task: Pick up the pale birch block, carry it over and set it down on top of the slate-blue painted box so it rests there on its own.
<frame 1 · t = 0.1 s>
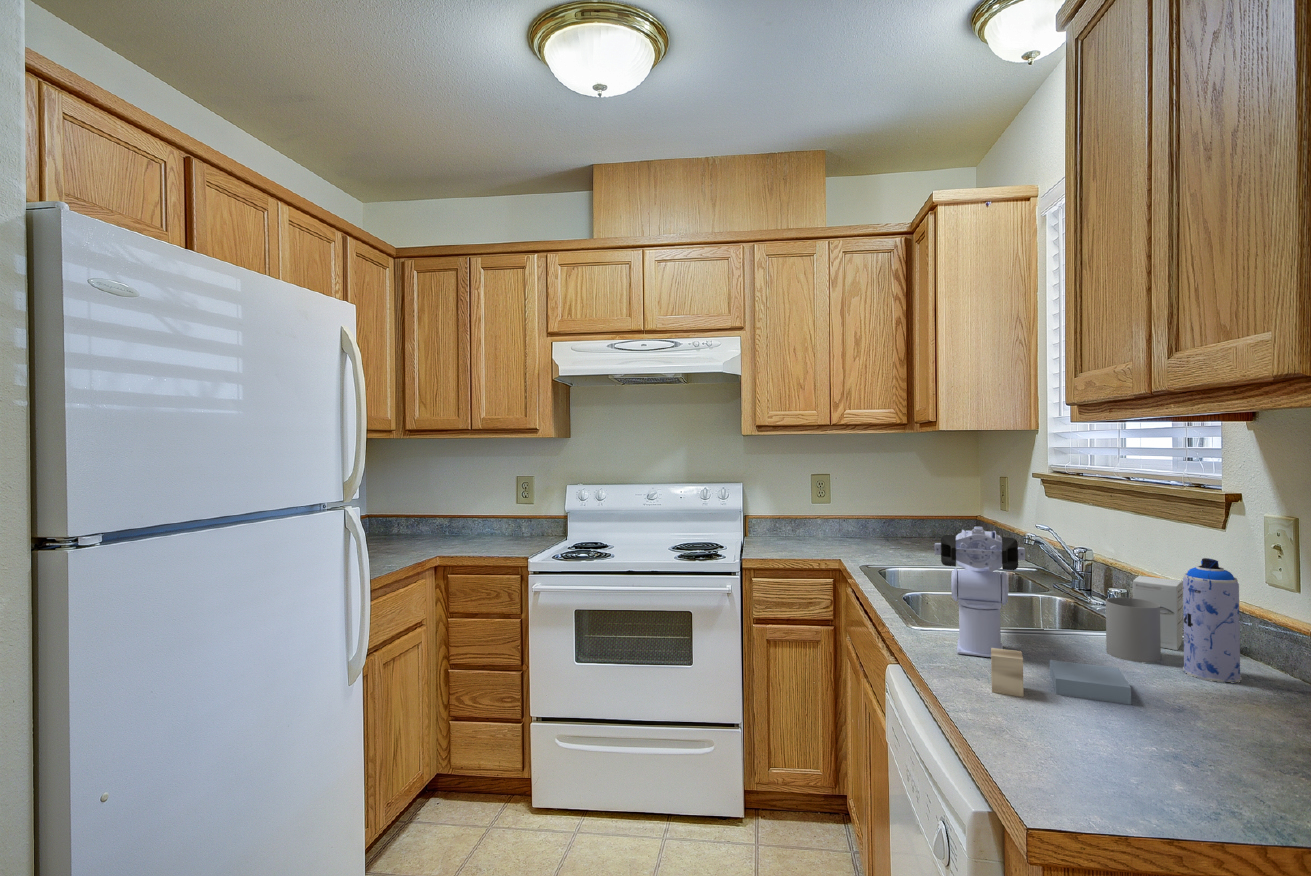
hand: (978, 555, 112), 22 cm above the counter, tool horizontal, fingers open, 7 cm apart
supplement box: (1158, 644, 133), on the counter
cup: (1133, 656, 125), on the counter
birch block: (1007, 689, 109), on the counter
aerosol can: (1211, 676, 115), on the counter
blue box: (1088, 691, 109), on the counter
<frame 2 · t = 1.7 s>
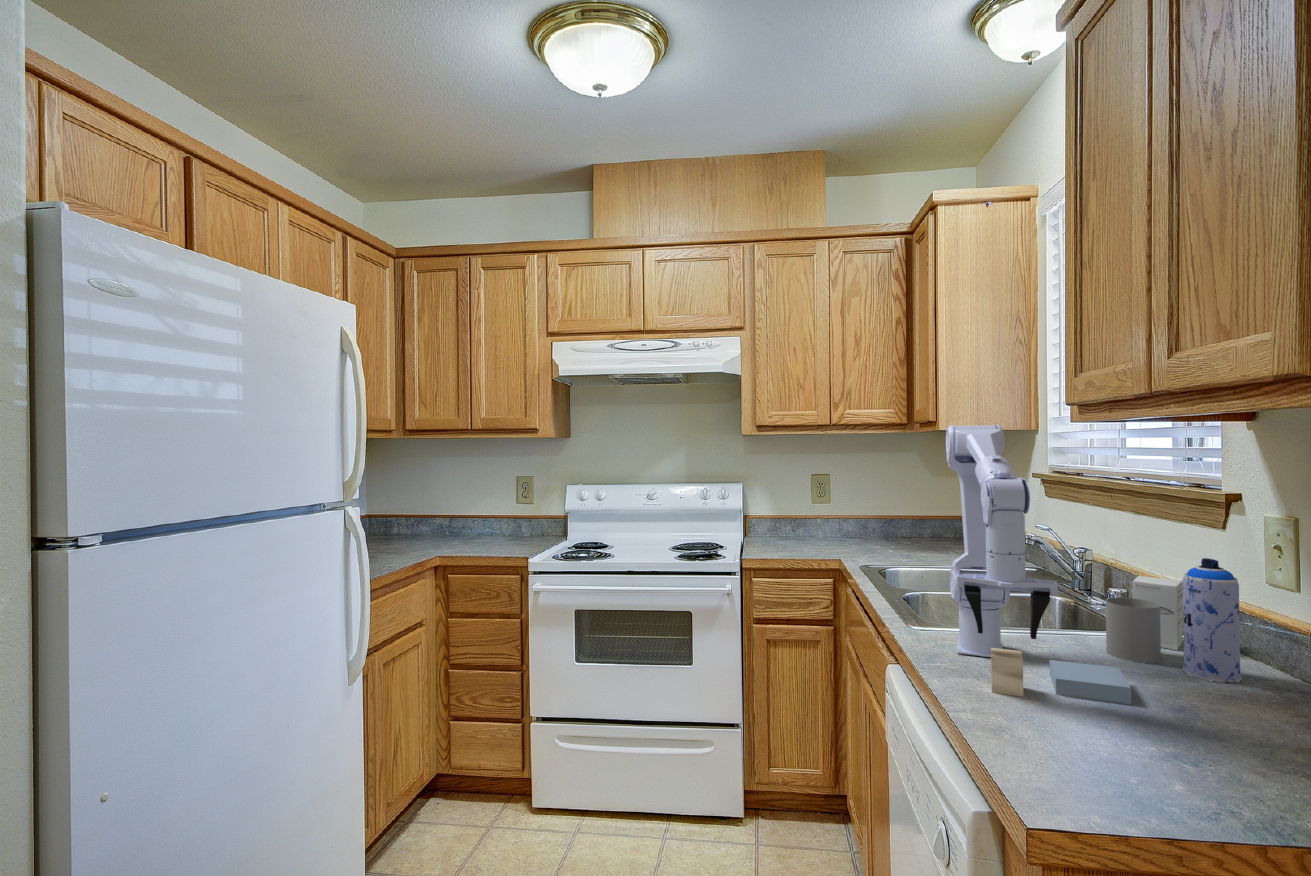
hand: (1006, 634, 109), 9 cm above the counter, tool pointing down, fingers open, 7 cm apart
nothing on the counter moved.
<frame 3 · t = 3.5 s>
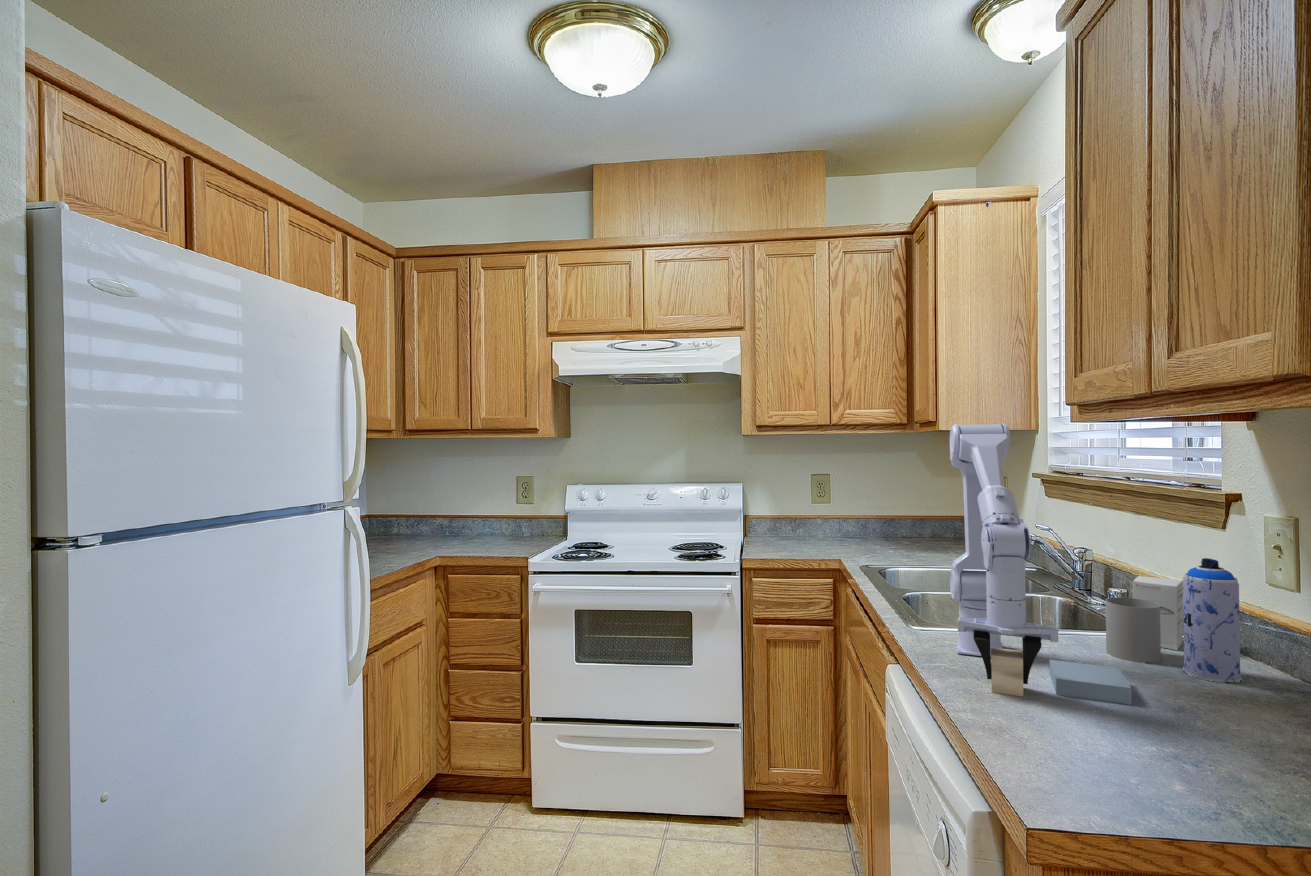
hand: (1006, 679, 109), 2 cm above the counter, tool pointing down, fingers closed on birch block, 4 cm apart
birch block: (1007, 689, 109), on the counter, touching gripper
everything else where it was.
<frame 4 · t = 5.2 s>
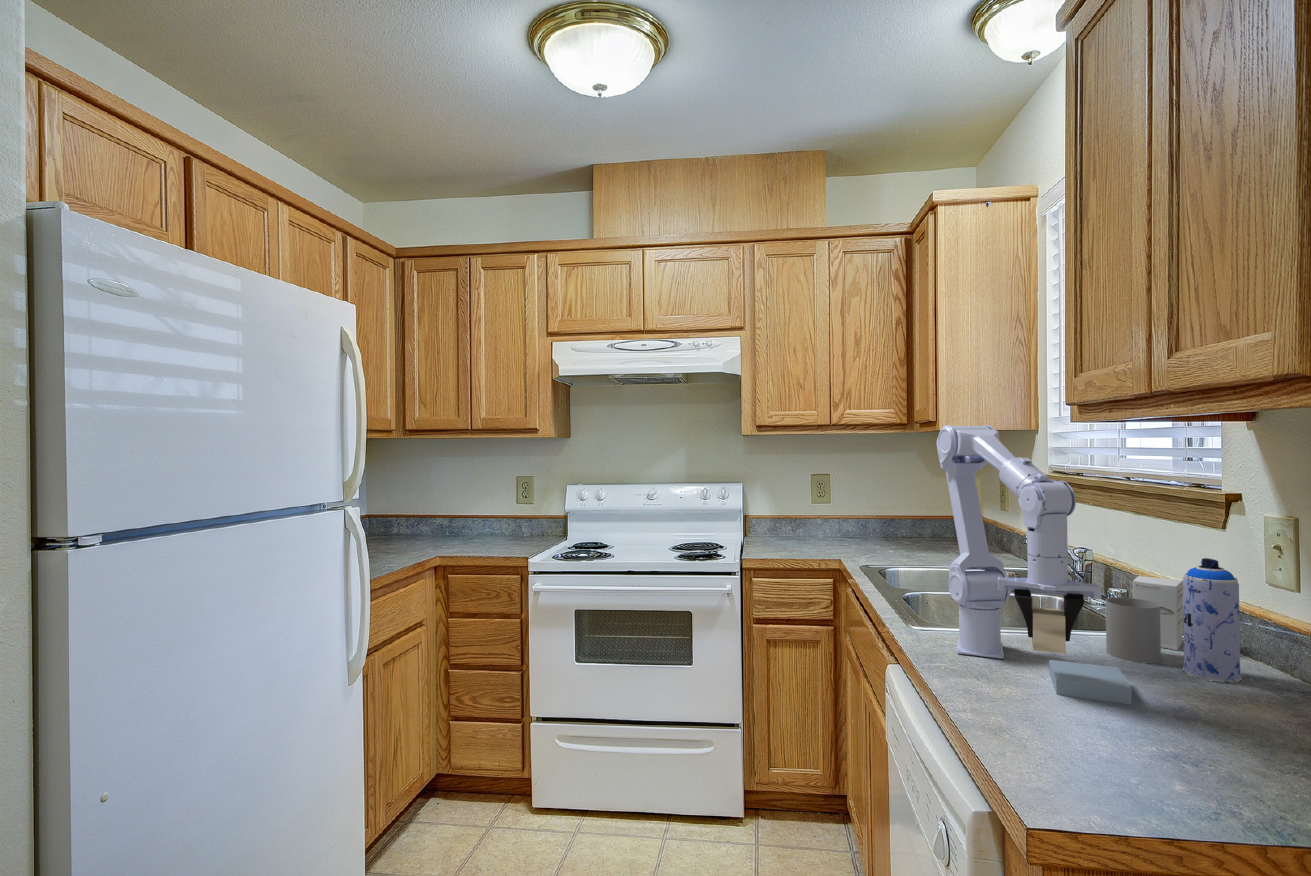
hand: (1048, 637, 109), 8 cm above the counter, tool pointing down, fingers closed on birch block, 4 cm apart
birch block: (1048, 648, 109), point 7 cm above the counter, touching gripper
everything else where it was.
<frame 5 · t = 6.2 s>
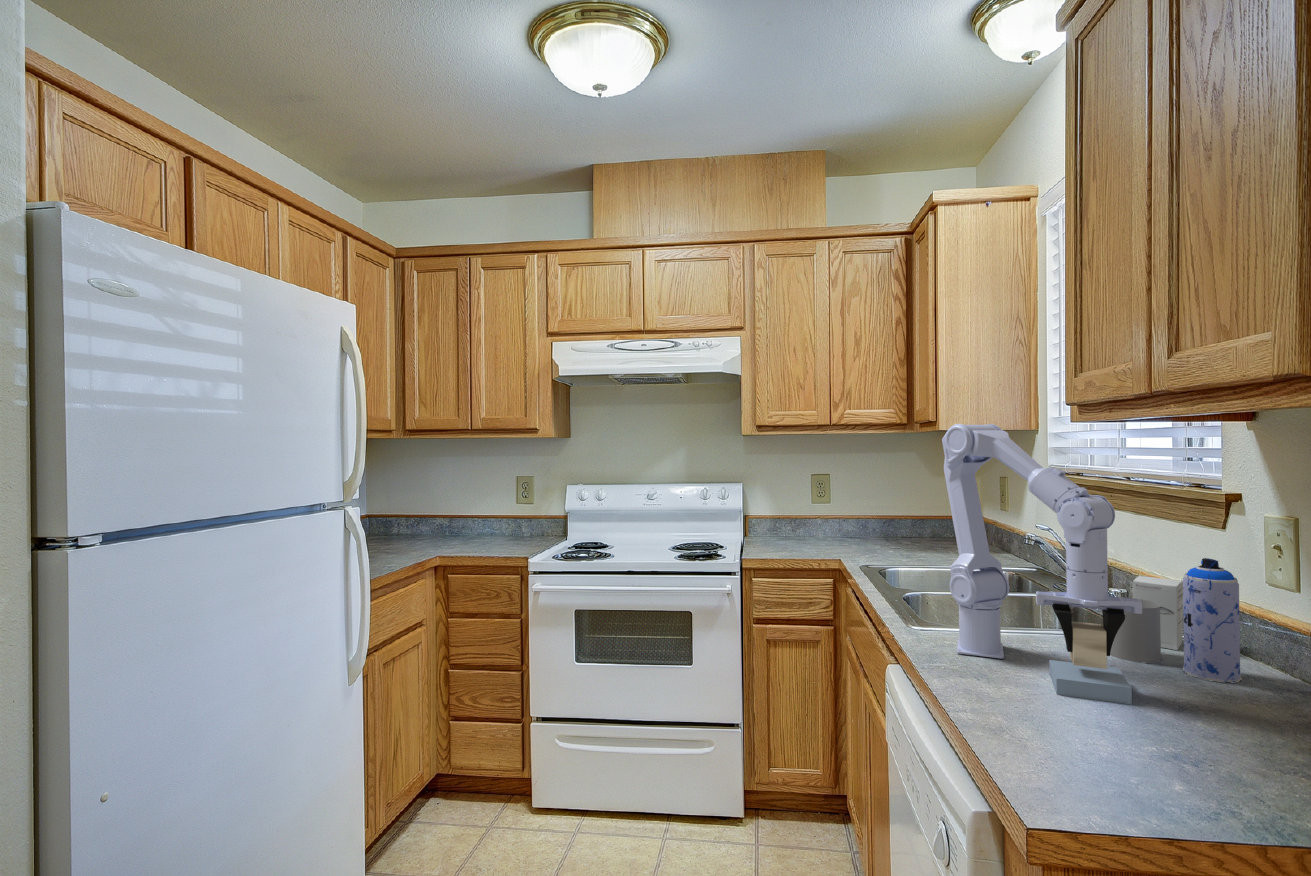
hand: (1087, 652, 109), 6 cm above the counter, tool pointing down, fingers closed on birch block, 4 cm apart
birch block: (1088, 662, 109), point 4 cm above the counter, touching gripper
everything else where it was.
when the fingers open (6 cm above the counter, at t = 7.1 s): birch block drops 2 cm, resting on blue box.
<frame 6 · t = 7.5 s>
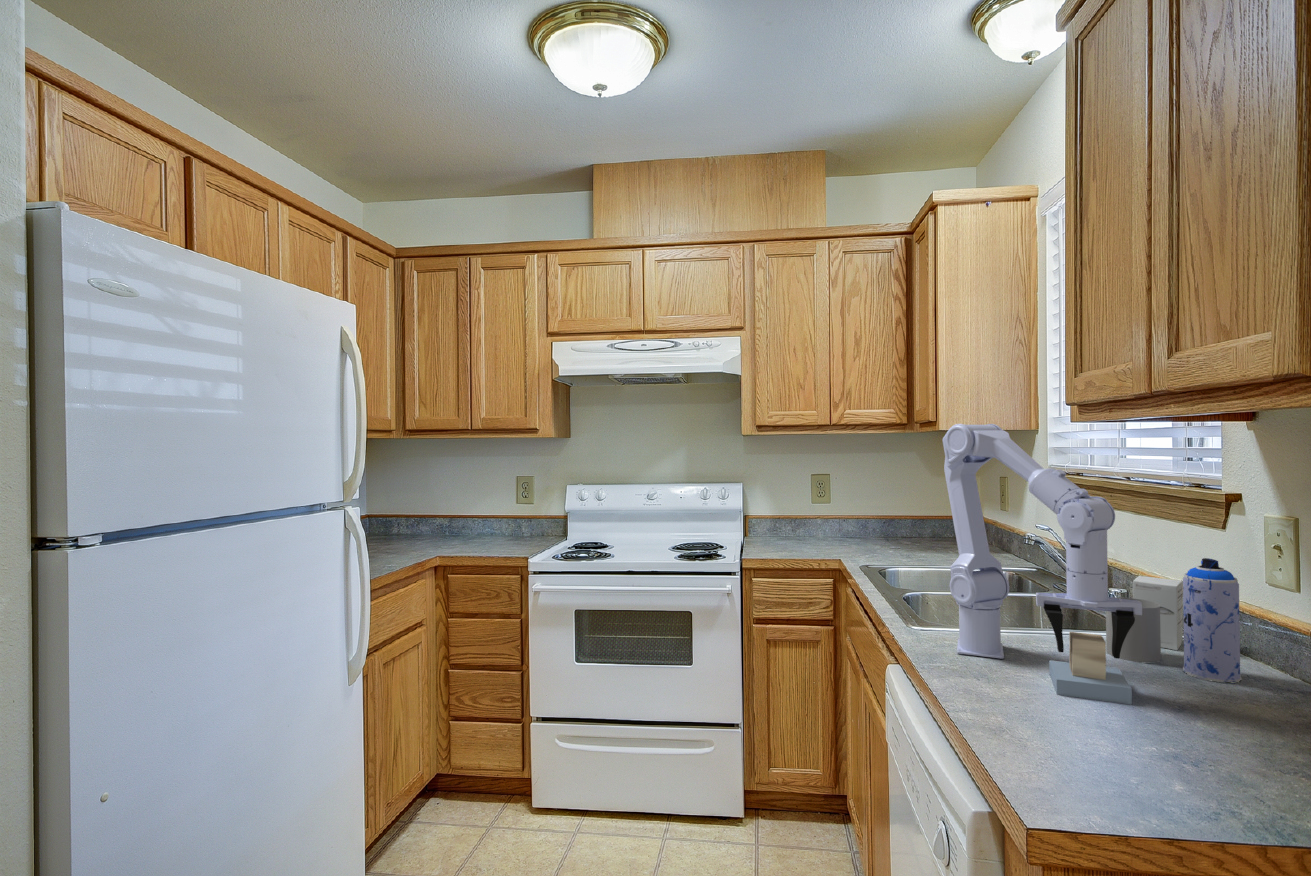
hand: (1087, 653, 109), 6 cm above the counter, tool pointing down, fingers open, 7 cm apart
birch block: (1087, 673, 109), point 2 cm above the counter, touching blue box
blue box: (1088, 691, 109), on the counter, touching birch block
everything else where it was.
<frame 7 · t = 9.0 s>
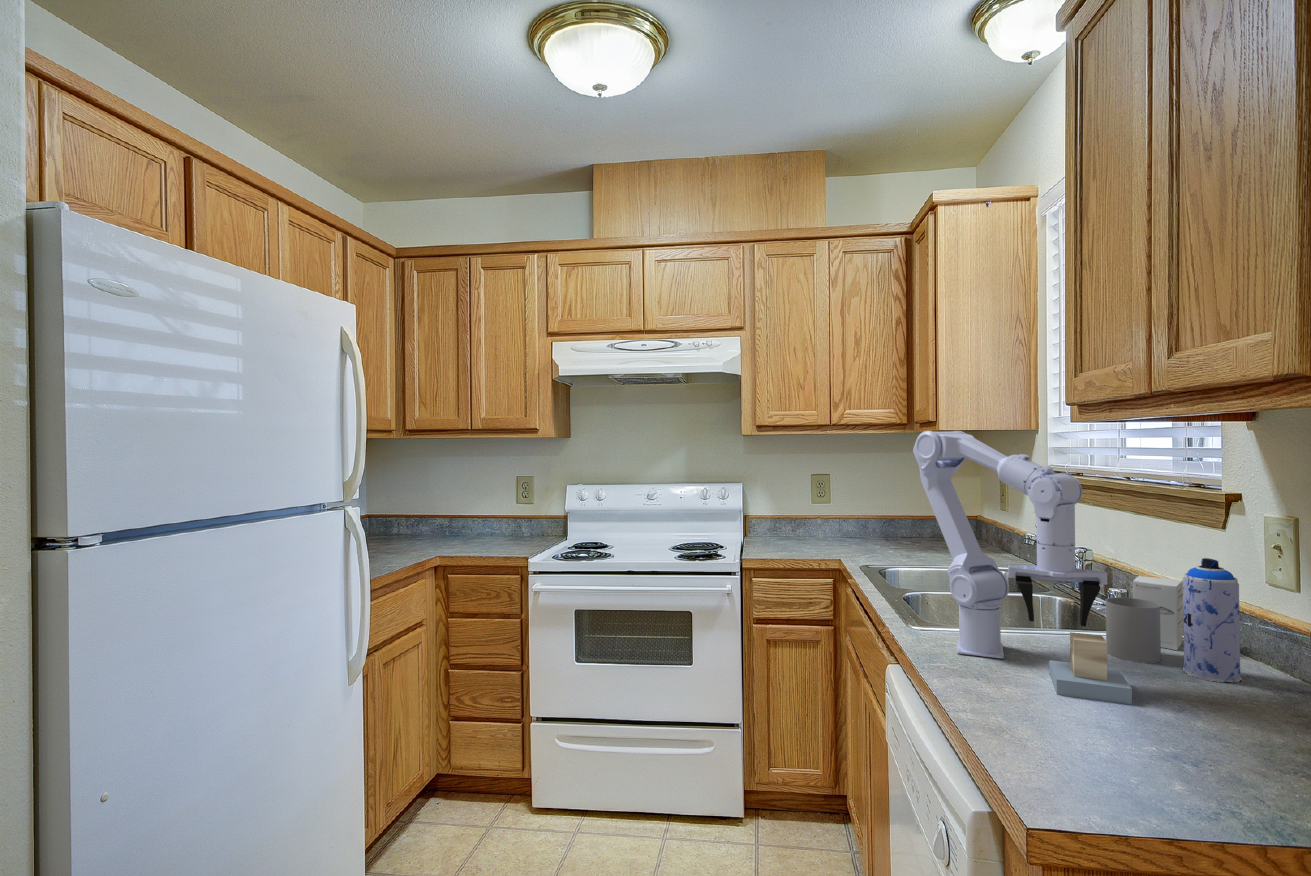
hand: (1056, 622, 115), 9 cm above the counter, tool pointing down, fingers open, 7 cm apart
nothing on the counter moved.
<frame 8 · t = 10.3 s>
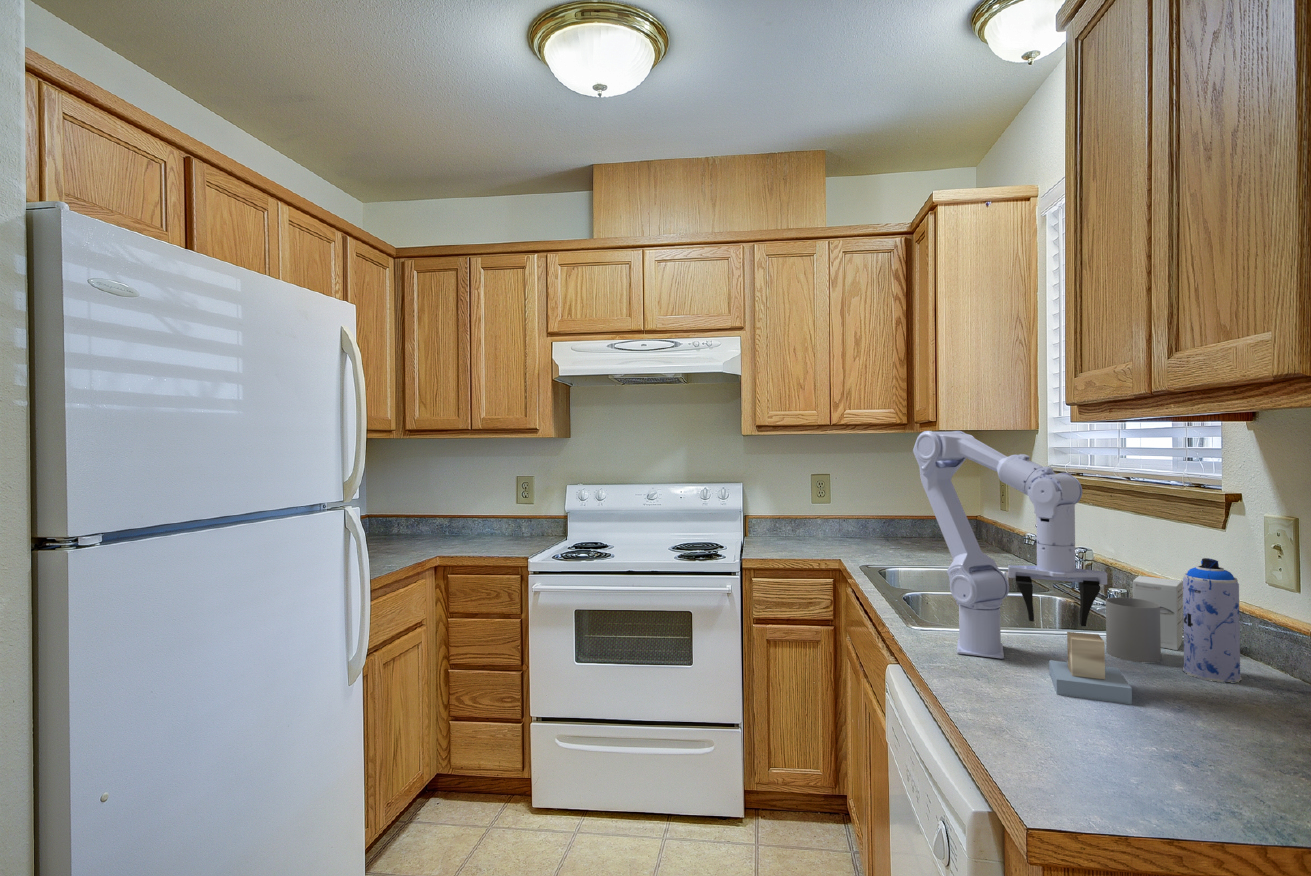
hand: (1056, 622, 115), 9 cm above the counter, tool pointing down, fingers open, 7 cm apart
birch block: (1085, 673, 109), point 2 cm above the counter
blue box: (1088, 691, 109), on the counter
everything else where it was.
at the end: birch block 0.4 cm off-centre on the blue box, point 3.0 cm above the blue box's base; birch block tilted 1°; birch block touching nothing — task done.
